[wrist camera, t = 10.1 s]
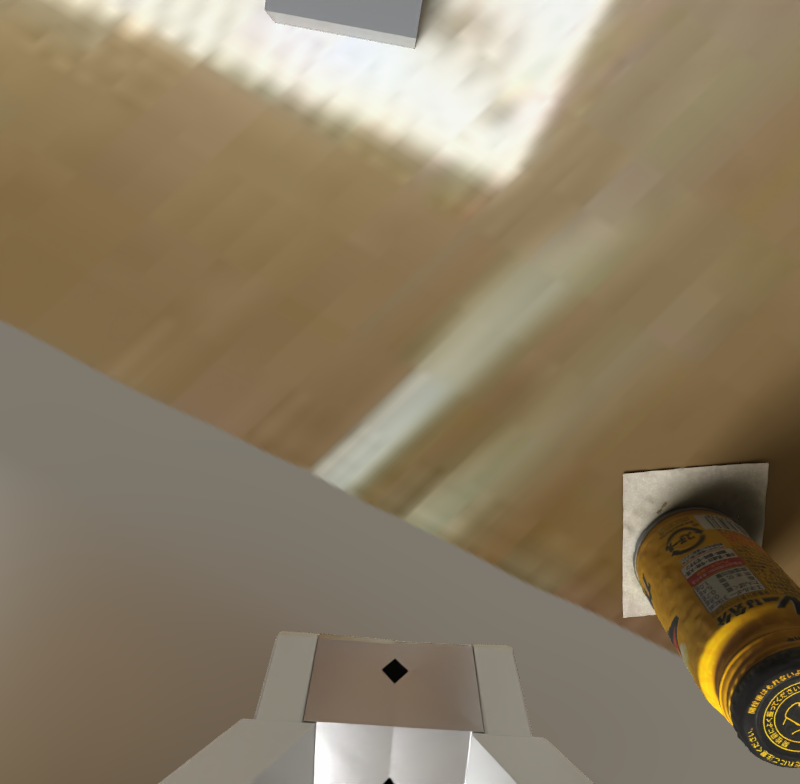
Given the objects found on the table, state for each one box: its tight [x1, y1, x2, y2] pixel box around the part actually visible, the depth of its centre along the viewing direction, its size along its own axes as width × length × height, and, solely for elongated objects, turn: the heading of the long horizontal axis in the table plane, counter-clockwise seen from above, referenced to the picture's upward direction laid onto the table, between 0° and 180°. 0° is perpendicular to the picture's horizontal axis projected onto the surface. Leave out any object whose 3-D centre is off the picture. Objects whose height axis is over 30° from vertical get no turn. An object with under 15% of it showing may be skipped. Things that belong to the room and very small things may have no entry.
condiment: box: [623, 463, 800, 768], centre depth 33 cm, size 7×8×12 cm
